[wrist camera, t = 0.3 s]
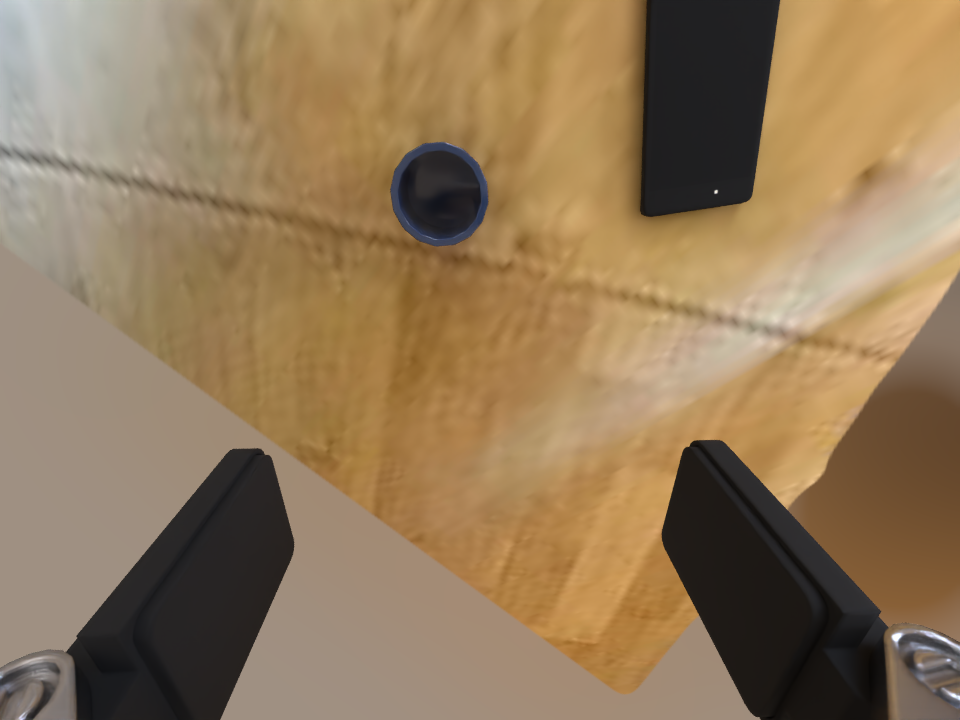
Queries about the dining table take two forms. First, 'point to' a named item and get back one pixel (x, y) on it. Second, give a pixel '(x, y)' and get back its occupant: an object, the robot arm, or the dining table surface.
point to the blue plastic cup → (439, 194)
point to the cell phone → (704, 101)
